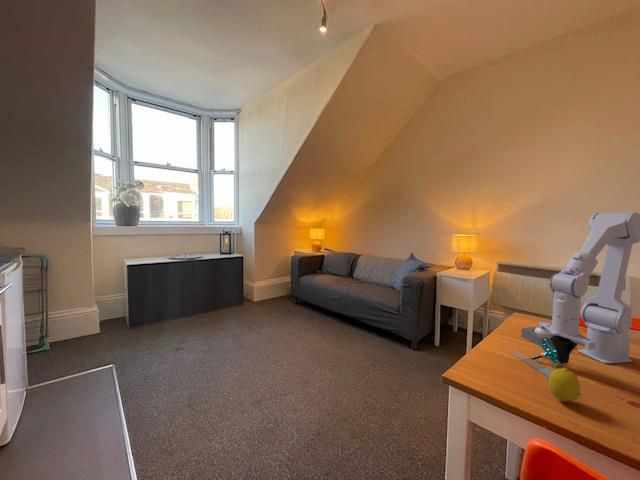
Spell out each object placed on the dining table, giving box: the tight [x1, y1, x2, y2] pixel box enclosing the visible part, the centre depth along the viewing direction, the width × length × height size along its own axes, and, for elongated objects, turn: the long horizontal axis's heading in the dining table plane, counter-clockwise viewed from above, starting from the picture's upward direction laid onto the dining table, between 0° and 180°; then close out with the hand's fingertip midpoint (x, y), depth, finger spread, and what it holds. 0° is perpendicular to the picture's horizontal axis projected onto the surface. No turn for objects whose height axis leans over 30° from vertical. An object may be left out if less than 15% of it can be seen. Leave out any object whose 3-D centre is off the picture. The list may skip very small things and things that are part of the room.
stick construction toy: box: [530, 339, 565, 369], centre depth 83 cm, size 12×7×8 cm
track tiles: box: [508, 350, 553, 379], centre depth 81 cm, size 3×15×1 cm, turn 7°
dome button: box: [534, 323, 553, 336], centre depth 96 cm, size 5×5×6 cm
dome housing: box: [521, 326, 555, 348], centre depth 97 cm, size 9×9×3 cm
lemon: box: [548, 367, 581, 403], centre depth 65 cm, size 6×6×8 cm
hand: (562, 362), depth 80 cm, fingers closed, pressing on stick construction toy
